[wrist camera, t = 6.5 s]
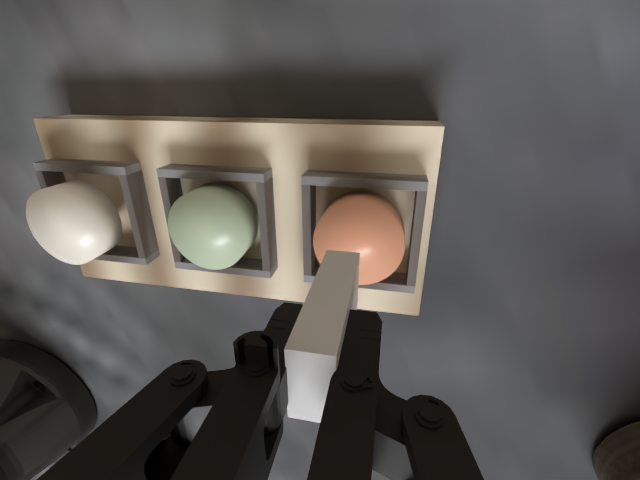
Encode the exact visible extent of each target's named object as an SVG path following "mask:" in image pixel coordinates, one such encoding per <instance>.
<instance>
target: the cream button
mask: <svg viewBox="0 0 640 480" xmlns="http://www.w3.org/2000/svg"><path fill="white" fill-rule="evenodd" d="M26 218H27V222H28V225H29V228H30V230H31V232H32V234H33V236H34V237H35V239H36V240H37V241H38V243H39V244H40V245H41V246H42V247H43V248H44V249H45V250H46V251H47V252H48V253H49V254H51V255H52V256H54V257H55V258H57V259H59V260H61V261H63V262H65V263H69V264H74V265H80V264H85V263H87V262H90V261H91V260H93V259H95V258H96V257H98V256H100V255H102V254H103V253H105V252H107V251H109V250H110V249H112V248H113V247H115V246H116V245H117V244H118V242H119V241H120V238H121V235H122V223H121V218H120V215H119V213H118V211H117V209H116V207H115V205H114V204H113V202H112V201H111V200H110V198H109V197H108V196H107V195H106V194H105V193H104V192H103V191H101V190H100V189H99V188H97V187H96V186H94V185H92V184H90V183H88V182H84V181H80V180H72V181H67V182H64V183H61V184H57V185H54V186H51V187H47V188H44V189H41V190H38V191H36V192H34V193H33V194H32V195H31V196H30V197H29V199H28V201H27V204H26Z"/></svg>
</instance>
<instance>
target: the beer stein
mask: <svg viewBox="0 0 640 480" xmlns="http://www.w3.org/2000/svg"><path fill="white" fill-rule="evenodd" d="M593 467H594V470H595V473H596V475H597V477H598V479H599V480H640V422H635V423H632V424H630V425H627V426H624V427H622V428H620V429H618V430H617V431H615V432H613V433H612V434H610V435H609V436H607V437H606V438H605V439H604V440H603V441H602V442H601V443H600V445H599V446H598V447H597V448H596V450H595V452H594V454H593Z"/></svg>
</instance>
